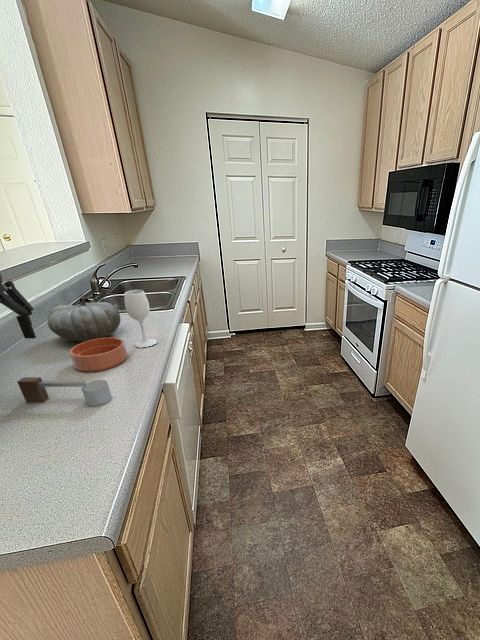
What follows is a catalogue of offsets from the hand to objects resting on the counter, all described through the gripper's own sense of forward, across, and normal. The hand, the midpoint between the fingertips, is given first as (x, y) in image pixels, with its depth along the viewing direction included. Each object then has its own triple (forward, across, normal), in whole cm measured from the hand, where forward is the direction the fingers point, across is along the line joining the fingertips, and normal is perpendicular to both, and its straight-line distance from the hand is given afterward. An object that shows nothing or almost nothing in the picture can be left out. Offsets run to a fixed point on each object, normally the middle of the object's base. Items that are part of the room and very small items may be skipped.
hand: (11, 347), depth 89 cm
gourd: (+17, +48, +12) cm, 52 cm away
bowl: (+17, +25, -6) cm, 31 cm away
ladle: (+17, 0, -10) cm, 20 cm away
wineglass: (+17, +41, -15) cm, 47 cm away
